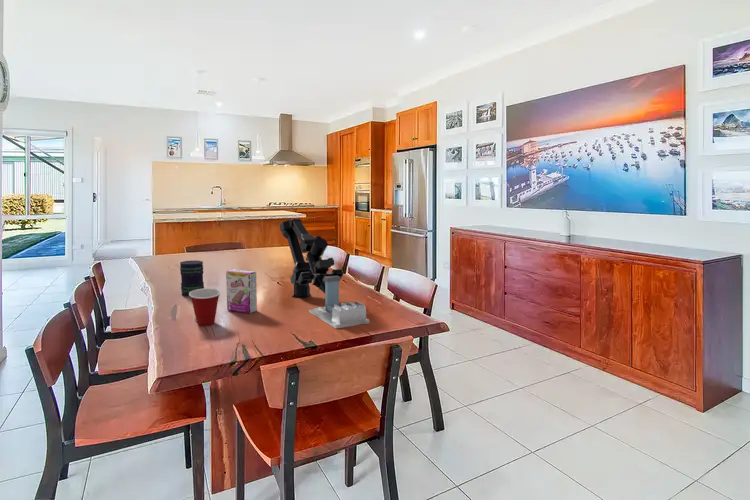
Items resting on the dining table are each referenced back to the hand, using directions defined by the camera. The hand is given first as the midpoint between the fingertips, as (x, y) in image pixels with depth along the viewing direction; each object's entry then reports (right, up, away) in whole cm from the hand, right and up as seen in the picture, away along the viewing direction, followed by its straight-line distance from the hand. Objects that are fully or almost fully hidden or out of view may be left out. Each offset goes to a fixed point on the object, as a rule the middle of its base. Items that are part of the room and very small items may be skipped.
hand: (327, 293), depth 177 cm
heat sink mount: (+5, -8, -7) cm, 12 cm away
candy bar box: (-34, -7, -1) cm, 35 cm away
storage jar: (-65, -3, +24) cm, 69 cm away
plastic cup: (-42, -9, -18) cm, 47 cm away
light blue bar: (+3, -7, -5) cm, 9 cm away
